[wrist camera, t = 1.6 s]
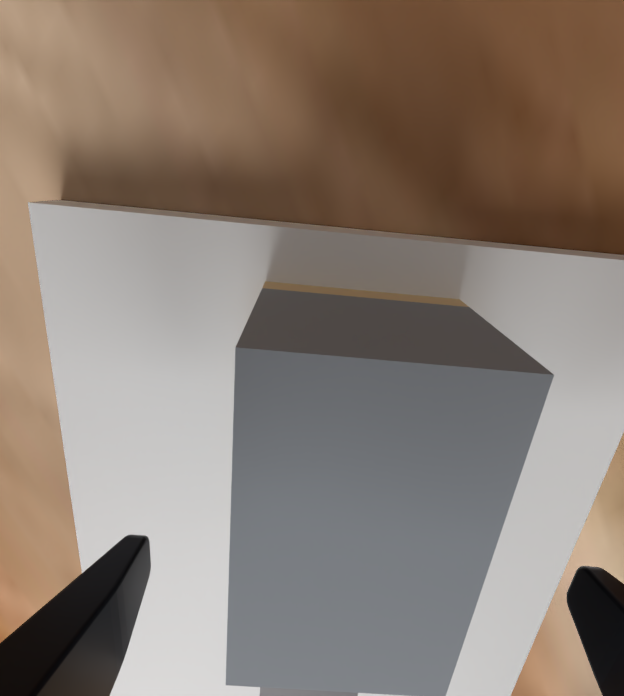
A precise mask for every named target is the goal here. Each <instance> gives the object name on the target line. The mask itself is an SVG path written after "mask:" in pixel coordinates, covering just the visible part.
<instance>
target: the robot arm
mask: <svg viewBox="0 0 624 696" xmlns="http://www.w3.org/2000/svg"><path fill="white" fill-rule="evenodd" d="M150 570H151V558H150V542H149V538H148V537H147V536H145V535H133V534H130V535H127V536H125V537H124V538H123V539H121V540H120V541H119V542H118V543H117V544H116V545H114V546H113V547H112V548H111V549H110V550H109V551H107V552H106V553H105V554H104V555H103V556H102V557H100V558H99V559H98V560H97V561H96V562H95V563H93V564H92V565H91V566H90V567H89V568H88V569H86V570H85V571H84V572H83V573H82V574H81V575H79V576H78V577H77V578H76V579H75V580H74V581H72V582H71V583H70V584H69V585H68V586H67V587H65V588H64V589H63V590H62V591H61V592H60V593H58V594H57V595H56V596H55V597H54V598H53V599H51V600H50V601H49V602H48V603H47V604H46V605H44V606H43V607H42V608H41V609H40V610H39V611H37V612H36V613H35V614H34V615H33V616H32V617H30V618H29V619H28V620H27V621H26V622H25V623H23V624H22V625H21V626H20V627H19V628H18V629H16V630H15V631H14V632H13V633H12V634H11V635H9V636H8V637H7V638H6V639H5V640H4V641H2V642H1V643H0V696H110V694H111V691H112V689H113V686H114V684H115V681H116V679H117V676H118V674H119V671H120V669H121V666H122V664H123V661H124V658H125V655H126V652H127V649H128V645H129V642H130V639H131V636H132V632H133V629H134V626H135V622H136V619H137V616H138V612H139V609H140V606H141V602H142V599H143V596H144V593H145V589H146V586H147V583H148V579H149V575H150ZM567 604H568V607H569V610H570V613H571V615H572V618H573V620H574V623H575V626H576V628H577V631H578V634H579V636H580V639H581V642H582V644H583V647H584V649H585V652H586V655H587V657H588V660H589V663H590V665H591V668H592V671H593V673H594V676H595V678H596V681H597V683H598V686H599V688H600V690H601V692H602V695H603V696H624V584H623V583H621V582H620V581H619V580H617V579H616V578H615V577H613V576H612V575H611V574H609V573H608V572H607V571H605V570H604V569H602V568H599V567H589V566H581V567H580V568H578V569H577V571H576V573H575V576H574V578H573V580H572V582H571V585H570V587H569V589H568V592H567Z"/></svg>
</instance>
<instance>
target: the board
mask: <svg viewBox="0 0 624 696" xmlns="http://www.w3.org/2000/svg"><path fill="white" fill-rule="evenodd" d="M28 207H29V213H30V220H31V227H32V234H33V241H34V248H35V255H36V261H37V268H38V275H39V282H40V289H41V296H42V302H43V309H44V316H45V323H46V330H47V337H48V343H49V350H50V357H51V364H52V371H53V378H54V385H55V391H56V398H57V405H58V412H59V419H60V426H61V432H62V439H63V446H64V453H65V460H66V467H67V473H68V480H69V487H70V494H71V501H72V508H73V514H74V521H75V528H76V535H77V542H78V549H79V556H80V562H81V569H82V573H83V572H84V571H85V570H86V569H88V568H89V567H90V566H91V565H92V564H93V563H95V562H96V561H97V560H98V559H99V558H100V557H102V556H103V555H104V554H105V553H106V552H107V551H109V550H110V549H111V548H112V547H113V546H114V545H116V544H117V543H118V542H119V541H120V540H121V539H123V538H124V537H125V536H127V535H130V534H133V535H145V536H147V537H148V538H149V542H150V558H151V570H150V575H149V579H148V583H147V586H146V589H145V593H144V596H143V599H142V602H141V606H140V609H139V612H138V616H137V619H136V622H135V626H134V629H133V632H132V636H131V639H130V642H129V645H128V649H127V652H126V655H125V658H124V661H123V664H122V666H121V669H120V671H119V674H118V676H117V679H116V681H115V684H114V686H113V689H112V691H111V694H110V696H260V687H247V686H229V685H226V653H227V619H228V584H229V550H230V516H231V482H232V447H233V413H234V379H235V347H236V345H237V343H238V341H239V338H240V336H241V334H242V332H243V330H244V327H245V325H246V323H247V321H248V318H249V316H250V314H251V312H252V310H253V307H254V305H255V303H256V301H257V299H258V296H259V294H260V292H261V290H262V288H263V285H264V283H265V281H267V282H278V283H289V284H300V285H311V286H322V287H333V288H343V289H354V290H365V291H376V292H387V293H398V294H408V295H419V296H430V297H441V298H452V299H460V300H461V301H462V302H464V303H465V304H466V305H467V306H469V307H470V308H471V309H472V310H474V311H475V312H476V313H477V314H479V315H480V316H481V317H482V318H484V319H485V320H486V321H487V322H489V323H490V324H491V325H492V326H494V327H495V328H496V329H497V330H499V331H500V332H501V333H502V334H504V335H505V336H506V337H507V338H509V339H510V340H511V341H512V342H514V343H515V344H516V345H517V346H519V347H520V348H521V349H522V350H524V351H525V352H526V353H527V354H529V355H530V356H531V357H532V358H534V359H535V360H536V361H538V362H539V363H540V364H541V365H543V366H544V367H545V368H546V369H548V370H549V371H550V372H551V373H553V374H554V377H553V380H552V383H551V386H550V389H549V392H548V395H547V398H546V401H545V404H544V407H543V410H542V413H541V416H540V418H539V421H538V424H537V427H536V430H535V433H534V436H533V439H532V442H531V445H530V448H529V451H528V454H527V457H526V460H525V463H524V466H523V469H522V472H521V475H520V478H519V481H518V483H517V486H516V489H515V492H514V495H513V498H512V501H511V504H510V507H509V510H508V513H507V516H506V519H505V522H504V525H503V528H502V531H501V534H500V537H499V540H498V543H497V546H496V549H495V551H494V554H493V557H492V560H491V563H490V566H489V569H488V572H487V575H486V578H485V581H484V584H483V587H482V590H481V593H480V596H479V599H478V602H477V605H476V608H475V611H474V614H473V617H472V619H471V622H470V625H469V628H468V631H467V634H466V637H465V640H464V643H463V646H462V649H461V652H460V655H459V658H458V661H457V664H456V667H455V670H454V673H453V676H452V679H451V682H450V685H449V687H448V690H447V693H446V696H511V693H512V691H513V689H514V686H515V684H516V682H517V679H518V677H519V675H520V672H521V670H522V668H523V665H524V663H525V661H526V658H527V656H528V654H529V651H530V649H531V647H532V644H533V642H534V640H535V637H536V635H537V633H538V630H539V628H540V626H541V623H542V621H543V619H544V616H545V614H546V612H547V609H548V607H549V605H550V602H551V600H552V598H553V595H554V593H555V591H556V588H557V586H558V584H559V581H560V579H561V577H562V574H563V572H564V570H565V567H566V565H567V563H568V560H569V558H570V556H571V553H572V551H573V549H574V546H575V544H576V542H577V539H578V537H579V535H580V532H581V530H582V528H583V526H584V523H585V521H586V519H587V516H588V514H589V512H590V509H591V507H592V505H593V502H594V500H595V498H596V495H597V493H598V491H599V488H600V486H601V484H602V481H603V479H604V477H605V474H606V472H607V470H608V467H609V465H610V463H611V460H612V458H613V456H614V453H615V451H616V449H617V446H618V444H619V442H620V439H621V437H622V435H623V432H624V255H619V254H609V253H598V252H588V251H578V250H568V249H557V248H547V247H537V246H527V245H517V244H506V243H496V242H486V241H476V240H465V239H455V238H445V237H435V236H424V235H414V234H404V233H394V232H383V231H373V230H363V229H353V228H343V227H332V226H322V225H312V224H302V223H291V222H281V221H271V220H261V219H250V218H240V217H230V216H220V215H209V214H199V213H189V212H179V211H168V210H158V209H148V208H138V207H128V206H117V205H107V204H97V203H87V202H76V201H66V200H52V201H39V202H28ZM358 696H405V695H388V694H370V693H358Z"/></svg>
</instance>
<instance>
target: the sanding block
mask: <svg viewBox="0 0 624 696" xmlns="http://www.w3.org/2000/svg"><path fill="white" fill-rule="evenodd" d="M553 377H554V374H553V373H551V372H550V371H549V370H548V369H546V368H545V367H544V366H543V365H541V364H540V363H539V362H538V361H536V360H535V359H534V358H532V357H531V356H530V355H529V354H527V353H526V352H525V351H524V350H522V349H521V348H520V347H519V346H517V345H516V344H515V343H514V342H512V341H511V340H510V339H509V338H507V337H506V336H505V335H504V334H502V333H501V332H500V331H499V330H497V329H496V328H495V327H494V326H492V325H491V324H490V323H489V322H487V321H486V320H485V319H484V318H482V317H481V316H480V315H479V314H477V313H476V312H475V311H474V310H472V309H471V308H470V307H469V306H467V305H466V304H465V303H464V302H462V301H461V300H460V299H452V298H441V297H430V296H419V295H408V294H398V293H387V292H376V291H365V290H354V289H343V288H333V287H322V286H311V285H300V284H289V283H278V282H267V281H265V283H264V285H263V288H262V290H261V292H260V294H259V296H258V299H257V301H256V303H255V305H254V307H253V310H252V312H251V314H250V316H249V318H248V321H247V323H246V325H245V327H244V330H243V332H242V334H241V336H240V338H239V341H238V343H237V345H236V347H235V379H234V413H233V447H232V482H231V516H230V550H229V584H228V619H227V653H226V685H229V686H247V687H264V688H282V689H300V690H317V691H335V692H352V693H370V694H388V695H405V696H446V693H447V690H448V687H449V685H450V682H451V679H452V676H453V673H454V670H455V667H456V664H457V661H458V658H459V655H460V652H461V649H462V646H463V643H464V640H465V637H466V634H467V631H468V628H469V625H470V622H471V619H472V617H473V614H474V611H475V608H476V605H477V602H478V599H479V596H480V593H481V590H482V587H483V584H484V581H485V578H486V575H487V572H488V569H489V566H490V563H491V560H492V557H493V554H494V551H495V549H496V546H497V543H498V540H499V537H500V534H501V531H502V528H503V525H504V522H505V519H506V516H507V513H508V510H509V507H510V504H511V501H512V498H513V495H514V492H515V489H516V486H517V483H518V481H519V478H520V475H521V472H522V469H523V466H524V463H525V460H526V457H527V454H528V451H529V448H530V445H531V442H532V439H533V436H534V433H535V430H536V427H537V424H538V421H539V418H540V416H541V413H542V410H543V407H544V404H545V401H546V398H547V395H548V392H549V389H550V386H551V383H552V380H553Z"/></svg>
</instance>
